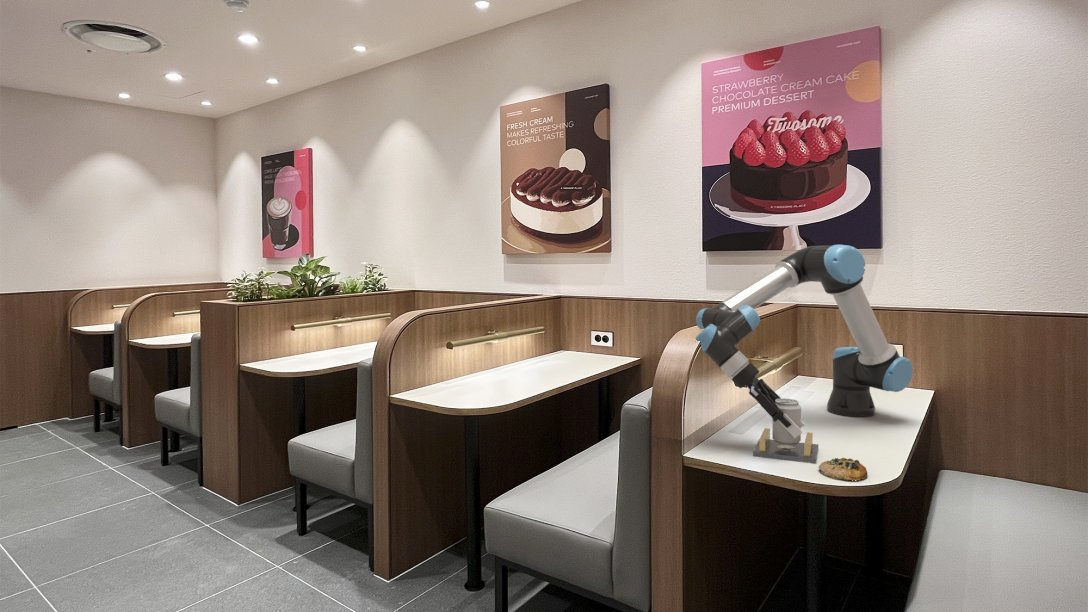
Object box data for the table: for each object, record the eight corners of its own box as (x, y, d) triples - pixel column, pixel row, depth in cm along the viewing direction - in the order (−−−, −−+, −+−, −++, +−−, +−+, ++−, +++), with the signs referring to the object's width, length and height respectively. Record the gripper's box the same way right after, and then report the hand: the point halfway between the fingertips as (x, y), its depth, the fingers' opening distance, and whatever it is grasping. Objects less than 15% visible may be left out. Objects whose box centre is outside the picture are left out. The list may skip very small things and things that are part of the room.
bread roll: (861, 467, 160) (861, 449, 159) (872, 489, 150) (873, 470, 149) (815, 466, 163) (815, 449, 162) (823, 487, 153) (823, 468, 152)
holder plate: (753, 455, 172) (753, 439, 171) (759, 442, 184) (759, 426, 184) (815, 463, 164) (816, 446, 164) (818, 448, 177) (818, 432, 177)
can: (767, 438, 177) (768, 397, 177) (792, 437, 178) (793, 396, 177) (779, 446, 170) (780, 403, 169) (805, 445, 171) (806, 402, 170)
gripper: (736, 372, 189) (792, 430, 183) (724, 385, 170) (786, 449, 165) (754, 356, 186) (812, 414, 180) (744, 367, 168) (808, 432, 162)
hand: (799, 430), depth 172 cm, fingers closed on can, 7 cm apart
